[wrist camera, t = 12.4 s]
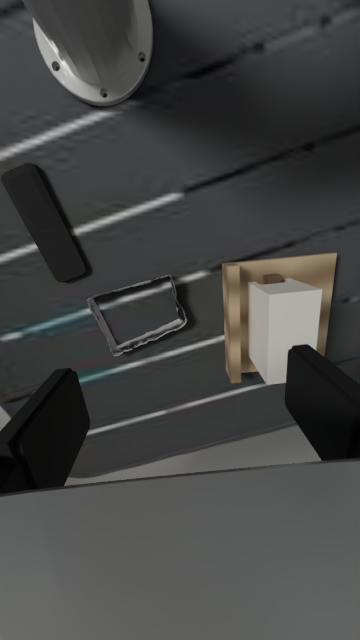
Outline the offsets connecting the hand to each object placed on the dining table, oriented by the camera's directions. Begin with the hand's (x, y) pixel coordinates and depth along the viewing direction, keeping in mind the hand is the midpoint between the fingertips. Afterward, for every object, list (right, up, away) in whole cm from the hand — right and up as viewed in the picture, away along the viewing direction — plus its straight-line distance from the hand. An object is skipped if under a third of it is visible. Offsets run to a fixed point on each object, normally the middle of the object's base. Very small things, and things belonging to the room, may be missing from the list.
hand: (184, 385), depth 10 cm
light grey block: (+13, +3, +26) cm, 29 cm away
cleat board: (+15, +4, +27) cm, 31 cm away
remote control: (-18, +16, +22) cm, 33 cm away
